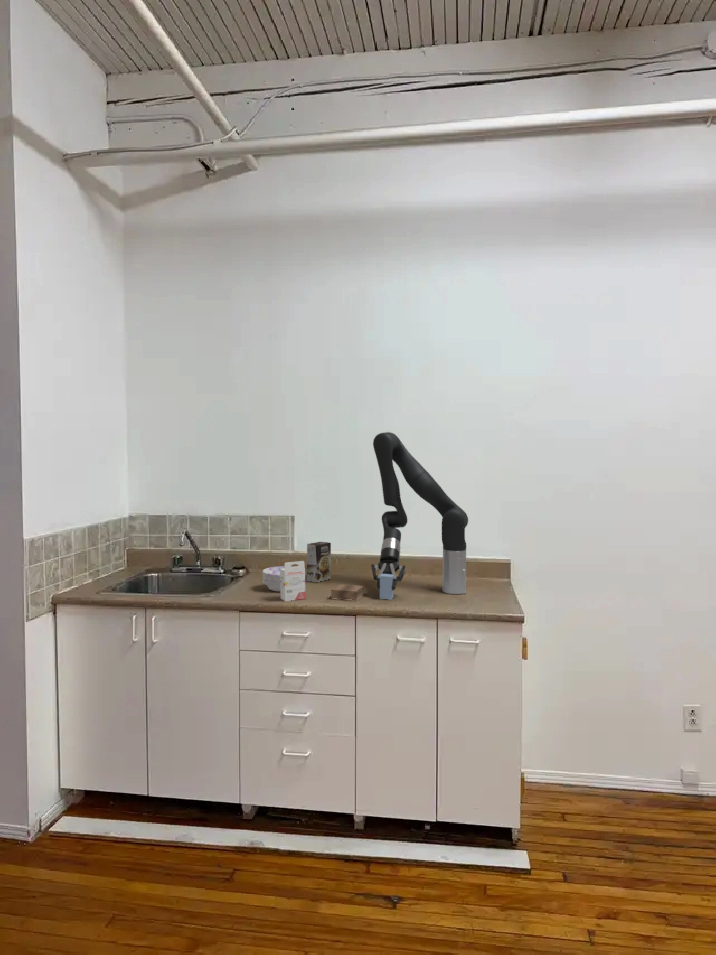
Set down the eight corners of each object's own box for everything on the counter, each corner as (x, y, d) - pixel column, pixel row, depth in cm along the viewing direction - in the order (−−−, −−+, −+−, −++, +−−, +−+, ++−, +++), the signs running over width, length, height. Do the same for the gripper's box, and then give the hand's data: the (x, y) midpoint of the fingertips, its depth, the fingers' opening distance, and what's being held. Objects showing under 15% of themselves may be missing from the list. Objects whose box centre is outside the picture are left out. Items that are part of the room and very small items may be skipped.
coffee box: (317, 583, 283) (317, 545, 282) (306, 581, 287) (306, 543, 286) (331, 579, 290) (331, 542, 289) (320, 577, 294) (320, 540, 293)
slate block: (393, 597, 259) (393, 574, 259) (391, 600, 255) (391, 576, 254) (381, 596, 260) (381, 573, 259) (379, 599, 255) (379, 576, 255)
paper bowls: (268, 594, 262) (268, 574, 261) (258, 586, 276) (257, 567, 275) (305, 591, 268) (305, 571, 268) (293, 583, 282) (293, 564, 282)
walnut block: (363, 596, 262) (363, 586, 262) (356, 602, 253) (356, 591, 253) (339, 594, 265) (339, 584, 265) (331, 600, 256) (331, 589, 255)
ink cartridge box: (300, 596, 260) (300, 558, 259) (305, 599, 255) (305, 560, 254) (279, 598, 256) (279, 560, 255) (284, 601, 251) (284, 562, 251)
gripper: (371, 545, 265) (366, 582, 254) (407, 547, 262) (404, 584, 251) (373, 556, 270) (368, 593, 259) (409, 558, 268) (405, 595, 257)
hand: (386, 588), depth 255 cm, fingers closed on slate block, 4 cm apart
